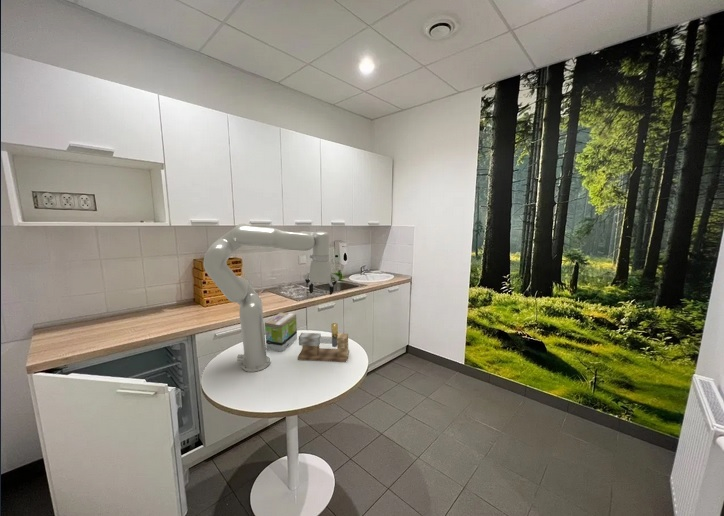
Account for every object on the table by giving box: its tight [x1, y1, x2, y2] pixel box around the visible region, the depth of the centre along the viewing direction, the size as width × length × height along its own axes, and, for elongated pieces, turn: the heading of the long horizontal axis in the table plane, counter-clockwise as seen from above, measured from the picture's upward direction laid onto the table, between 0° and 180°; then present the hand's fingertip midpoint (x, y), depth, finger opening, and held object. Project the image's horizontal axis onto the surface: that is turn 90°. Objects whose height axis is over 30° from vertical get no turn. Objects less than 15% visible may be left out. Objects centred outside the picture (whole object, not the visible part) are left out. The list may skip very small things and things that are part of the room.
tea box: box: [264, 311, 298, 353], centre depth 156 cm, size 15×10×15 cm
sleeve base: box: [297, 332, 350, 363], centre depth 144 cm, size 24×9×11 cm, turn 84°
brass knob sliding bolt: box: [319, 322, 339, 348], centre depth 142 cm, size 14×4×10 cm, turn 84°
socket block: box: [336, 332, 350, 357], centre depth 143 cm, size 4×5×10 cm
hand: (321, 293), depth 142 cm, fingers open, 9 cm apart
